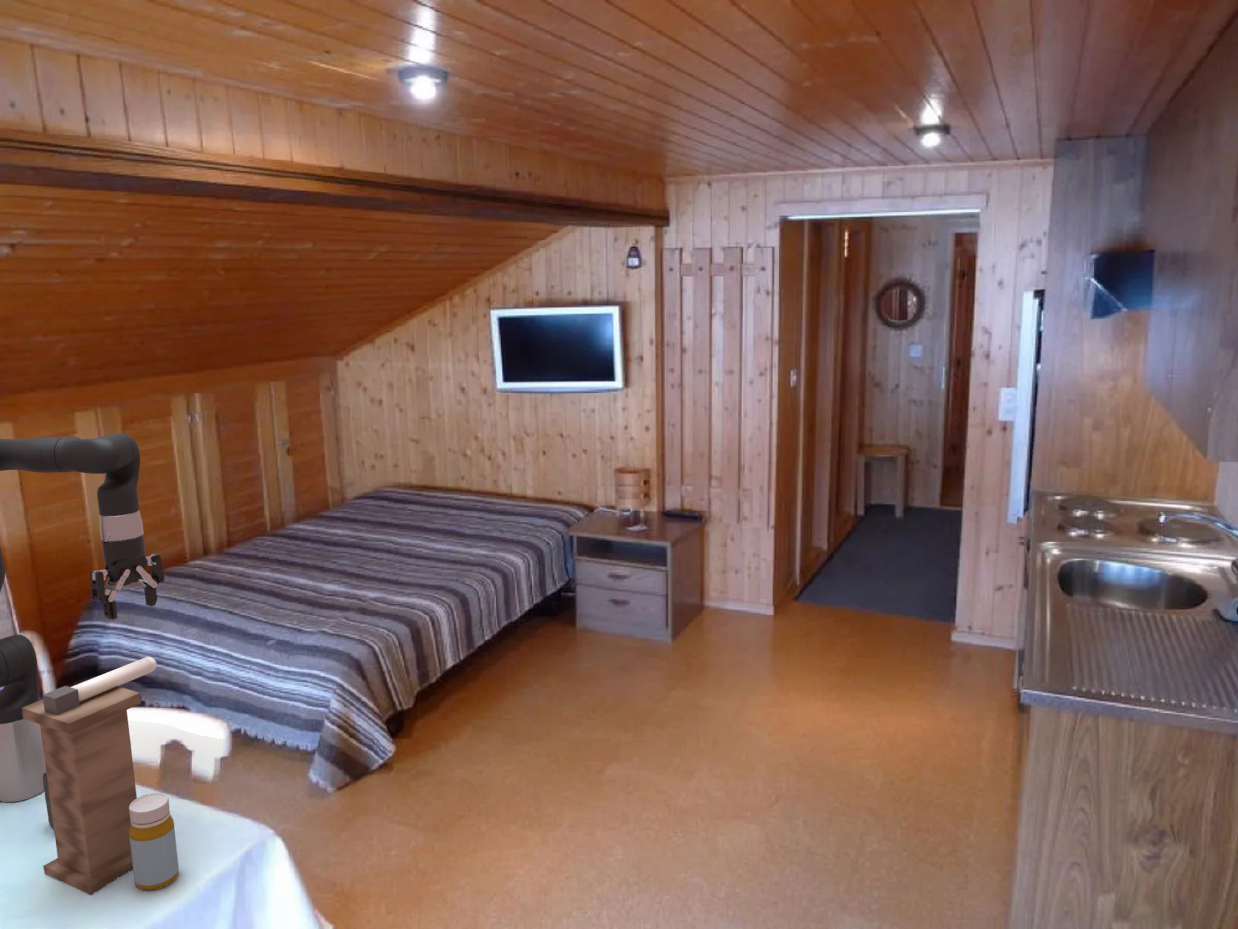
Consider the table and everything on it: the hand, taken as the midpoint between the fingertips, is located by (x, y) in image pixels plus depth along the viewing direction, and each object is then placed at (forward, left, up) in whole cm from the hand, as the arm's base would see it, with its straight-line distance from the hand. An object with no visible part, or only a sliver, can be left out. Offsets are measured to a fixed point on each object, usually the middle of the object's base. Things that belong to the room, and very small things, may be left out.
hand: (132, 611), depth 185 cm
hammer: (+15, -17, -7) cm, 24 cm away
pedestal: (+15, -22, -39) cm, 47 cm away
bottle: (+28, -20, -39) cm, 52 cm away
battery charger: (-2, -17, -39) cm, 43 cm away
